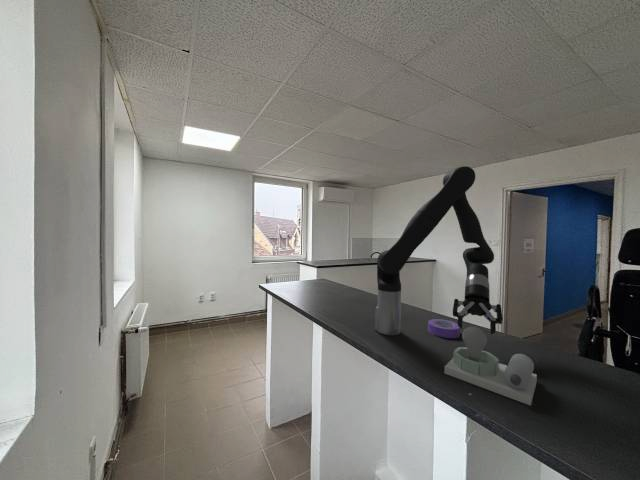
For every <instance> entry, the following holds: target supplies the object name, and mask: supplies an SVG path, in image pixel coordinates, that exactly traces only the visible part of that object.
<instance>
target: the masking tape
mask: <svg viewBox="0 0 640 480" xmlns="http://www.w3.org/2000/svg"><path fill="white" fill-rule="evenodd" d="M427 327H428V328H427V331H428V332H429V334H432V335H433V336H437V337H440V338H445V339H446V338H447V339H456V338H460V335H461V329H460V327H458V322H456V321H455V322H454V321H451V320H447V319H442V318H439V319H438V318H433V319H429V320H428V323H427Z"/></svg>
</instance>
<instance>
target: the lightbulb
mask: <svg viewBox="0 0 640 480" xmlns="http://www.w3.org/2000/svg"><path fill="white" fill-rule="evenodd" d="M461 339H462V341H463V343H464V344H465V347H467V353H468V359H469V360H472V361H475V362H478V363H479V358H480V354H481V351H482V350H483V348H485V346H486V345H487V342H488V339H487V334H486V333H485V331H483V330H482V329H481V328H479V327H477V326H468V327H466V328H465V329H464V330H463V331H462V333H461Z"/></svg>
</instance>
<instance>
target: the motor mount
mask: <svg viewBox="0 0 640 480" xmlns="http://www.w3.org/2000/svg"><path fill="white" fill-rule="evenodd" d="M452 352H453V353H452V354H453V357H452V358H451V360H449V361H448V362H447V363H446V364H445V366H444V370H443V371H444V374H445V375H447V376H451V377H453V378H455V379H458V380H461V381H463V382H465V383H468V384H471V385H475V386H477V387H479V388H482V389H485V390H487V391H490V392H493V393H496V394H498V395H500V396H503V397H507V398H509V399H512V400H515V401H516V402H517V401H518V402H520V403H522V404H525V405H527V406H530V407H531V406H532V402H533V399H534V393H535V391H536V387H537V382H538V381H537V380H538V374H536V373H533V372H534V369H535V365H534V361H533V360H532V359H531V358H530V357H529V356H527V355H525V354H523V353H515V354H513V355H512V356H511V358H510V360H509V362H508V363H507V364H503V363H500V360H499V358H498V357H497V356H495V355H494V354H492V353H491V352H490V351H489V352H488V351H486V350H483V349H482V351H481V354H480V358H479V363H478V362H475V361H472V360H469V359H468V353H467V347H466V346H464V347H463V346H461V347H460V346H458V347H457V348H455V349H454V350H453V351H452Z"/></svg>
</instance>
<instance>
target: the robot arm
mask: <svg viewBox="0 0 640 480" xmlns="http://www.w3.org/2000/svg"><path fill="white" fill-rule="evenodd" d="M475 181H476V172H475V170H474V169H473V168H472V167H470V166H467V165H465V166H463V165H462V166H459V167H455V168H454V169H451V170H450V171H448V172H447V173H446V174H445V175H444V176H443V179H442V184H443V186H442V188H441V189H440V190H439V191H438V193H436V194H435V195H434V196H433V197H432V198H430V199H429V200H428V201H427V202H425V203H424V204H423V205H422V206H421V207H420V208H419V209H418V210H417V211H416V212H415V214H414V215H413V216H412V217H411V219H409V221H408V223H407V224H406V227H405V228H404V230H403V231H402V234H401V236H400V237H399V239H398V240H397V241H396V242H395V243H394V244H393V246H391V247H390V248H389V249H388V250H387V249H386V250H384V251H382V252H381V253H380V254H379V255H378V257H377V262H376V263H377V264H376V273H377V274H376V280H377V281H376V282H377V305H376V306H375V309H374V310H375V311H374V313H375V315H374V330H375V331H377V332H378V333H380V334H381V335H386V336H397V335H400V334H401V312H402V307H401V306H402V282H401V278H400V277H401V275H400V272H401V270H402V269H403V268H404V266H405V265H406V263H407V262H408V260H409V259H410V257H411V256H412V254H413V253H414V252H415V251H416V249H417V248H418V247H419V246H420V245H421V244H422V243H423V242H424V241H425V240H426V239H427V237H428V236H430V234H431V233H432V232H433V231H434V229H435V228H436V227H437V226H438V224H439V223H440V222H441V221H442V219H443V218H445V216H446V215H447V213H448V212H449V211H450V210H451V208H453V210H454V213H455V215H456V219H457V222H458V225H459V228H460V232H461V236H462V239H463V242H465V243H467V244H468V243H469V244H475V245H478V246H475V247H469V248H465V250H463V252H462V258H463V261H464V265H465V267H466V280H465V287H464V299H463V300H459V299H458V298H455V299H454V300H453V307H452V316H453V317H456V318H457V324H458V327H460V330H463V324H464V323H463V322H464V318H465V317H467V316H468V315H469V314H470V315H471V316H478V317H482V316H483V317H484V318H485V319H486V320H487V321H488V322H490V324H489V325H490V326H489V327H490V328H489V329H490V330H489V333H490V335H494V334H496V332H497V331H496V329H497V328H496V327H497V326H496V325H498V324H499V325H502V324H503V313H502V305H501V304H499V303H497V304H496V305H495V304H491V302H490V280H489V269H488V267H487V266H486V265H488V264H491V263H493V261H494V260H495V253H494V251H493V249H492V248H491V246H490V245H489V244H488V242H487V240H486V239H485V237H484V233H483V231H482V226H481V223H480V220H479V217H478V215H477V214H476V212H475V211H474V209H473V207H472V206H471V205H470V203H469V200H468V199H467V194H466V192H468V190H470V189H471V187H472V186H473V185H474V183H475ZM461 306H463V308H462V310H461V311H459V312H458V310H459V309H458V308H460V307H461ZM491 310H493V312H494V313H496V317H494V315H493V314H492V312H491Z"/></svg>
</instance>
